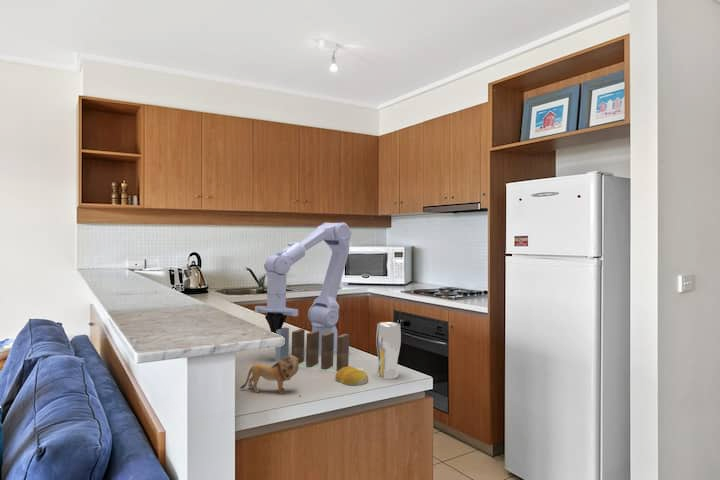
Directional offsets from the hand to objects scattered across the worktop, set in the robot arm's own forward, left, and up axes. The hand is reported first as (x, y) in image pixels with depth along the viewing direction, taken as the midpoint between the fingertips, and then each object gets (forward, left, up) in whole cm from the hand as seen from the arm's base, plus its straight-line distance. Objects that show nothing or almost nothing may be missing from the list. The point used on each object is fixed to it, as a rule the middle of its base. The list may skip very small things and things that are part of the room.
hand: (275, 337), depth 154 cm
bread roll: (+9, +30, -8) cm, 32 cm away
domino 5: (0, +23, -7) cm, 24 cm away
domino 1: (0, +2, -7) cm, 8 cm away
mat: (0, +15, -7) cm, 17 cm away
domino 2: (0, +8, -7) cm, 11 cm away
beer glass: (0, +37, -8) cm, 38 cm away
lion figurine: (+25, +14, -8) cm, 29 cm away
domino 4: (0, +18, -7) cm, 19 cm away
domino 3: (0, +13, -7) cm, 15 cm away
